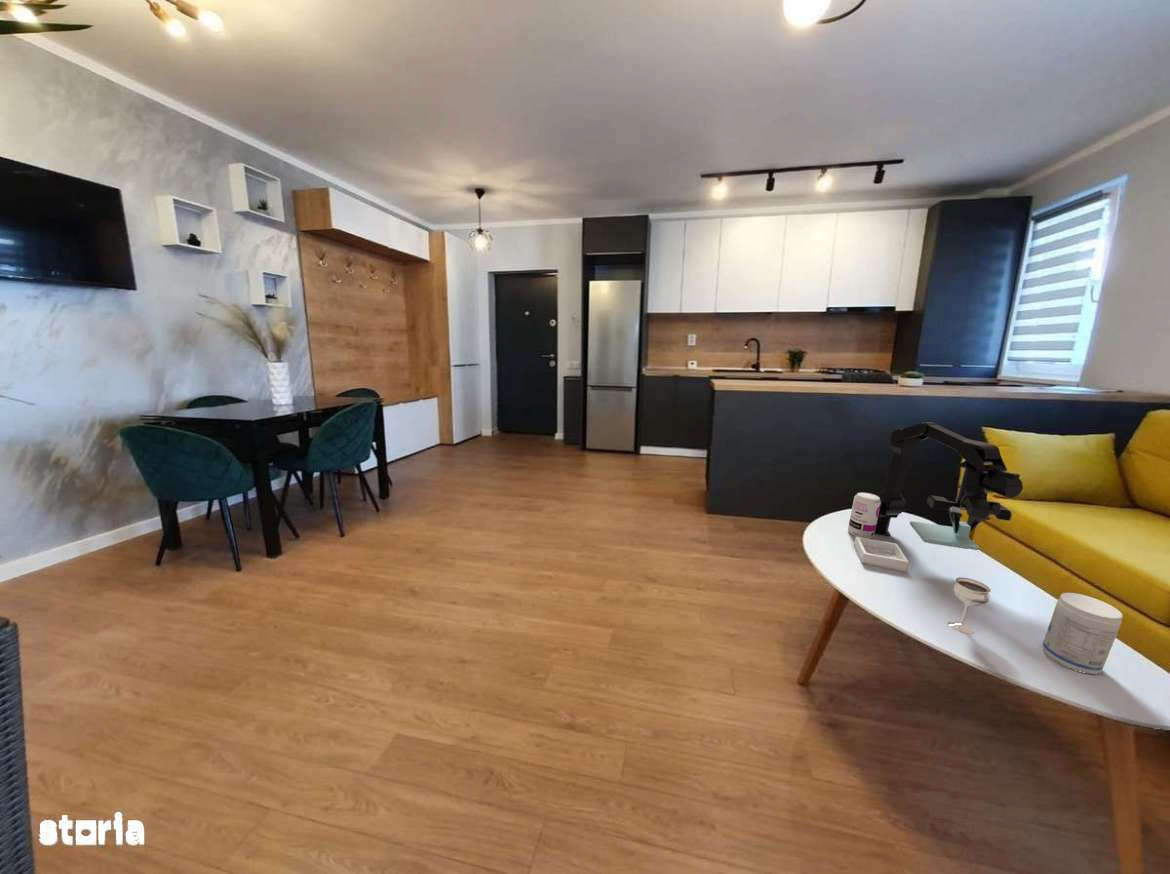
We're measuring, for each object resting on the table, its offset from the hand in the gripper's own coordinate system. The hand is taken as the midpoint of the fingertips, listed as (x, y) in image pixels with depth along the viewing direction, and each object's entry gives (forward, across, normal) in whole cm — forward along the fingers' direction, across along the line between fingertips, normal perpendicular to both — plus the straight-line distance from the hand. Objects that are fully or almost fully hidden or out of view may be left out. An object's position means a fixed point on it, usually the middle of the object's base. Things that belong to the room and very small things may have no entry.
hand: (960, 533), depth 133 cm
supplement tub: (+13, +11, -36) cm, 40 cm away
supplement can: (+13, -21, +18) cm, 31 cm away
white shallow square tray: (+13, -19, 0) cm, 23 cm away
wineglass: (+13, -8, -32) cm, 35 cm away
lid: (+2, -4, 0) cm, 5 cm away
